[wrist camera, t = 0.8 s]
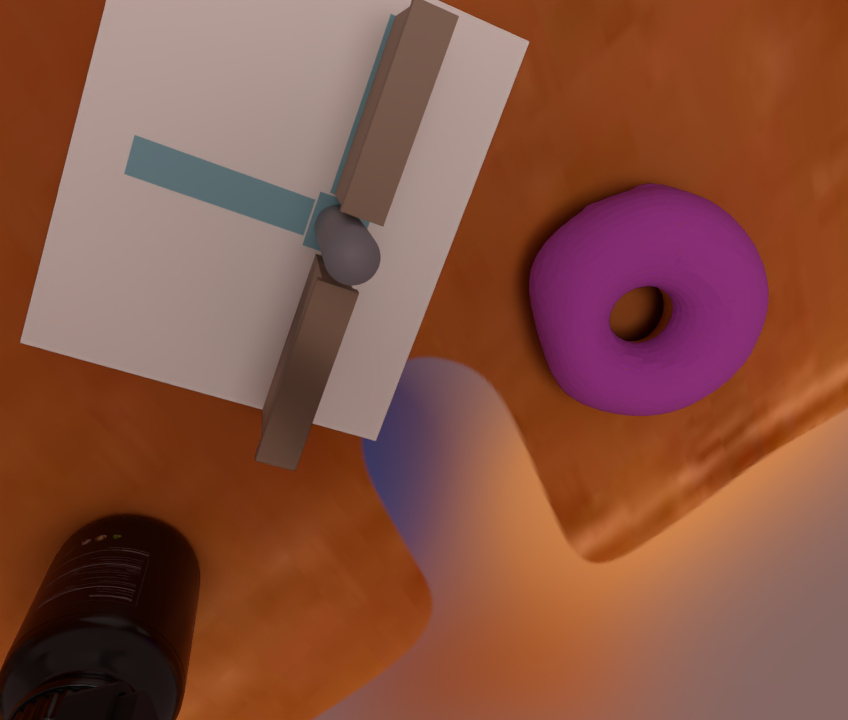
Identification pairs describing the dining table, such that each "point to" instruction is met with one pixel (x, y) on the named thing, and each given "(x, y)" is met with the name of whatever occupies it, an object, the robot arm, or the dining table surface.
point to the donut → (637, 267)
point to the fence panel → (304, 366)
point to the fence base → (266, 187)
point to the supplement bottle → (107, 621)
